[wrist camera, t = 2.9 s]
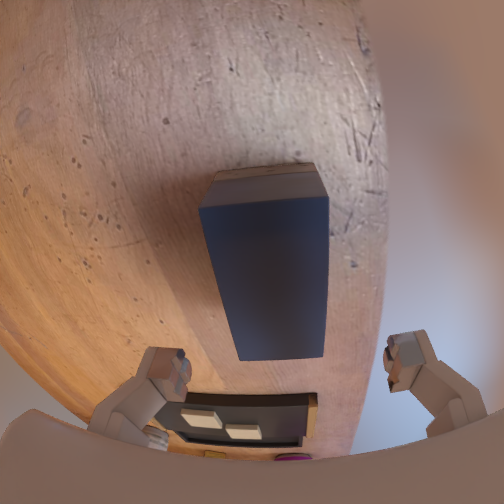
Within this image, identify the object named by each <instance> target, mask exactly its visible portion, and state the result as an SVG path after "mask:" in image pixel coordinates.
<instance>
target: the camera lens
mask: <svg viewBox="0 0 504 504" xmlns="http://www.w3.org/2000/svg"><path fill="white" fill-rule="evenodd" d="M142 431H143V432H144V433H145V434H147V435H148V436H149V438H150V441H149V445H148V447H149V448H153V449H158V450H163V451H167V447H168V434H167V433H166V432H164V431H162V430H159V429H157V428H154V427H151V426H146V425H145V426H144V427H143V429H142Z"/></svg>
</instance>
